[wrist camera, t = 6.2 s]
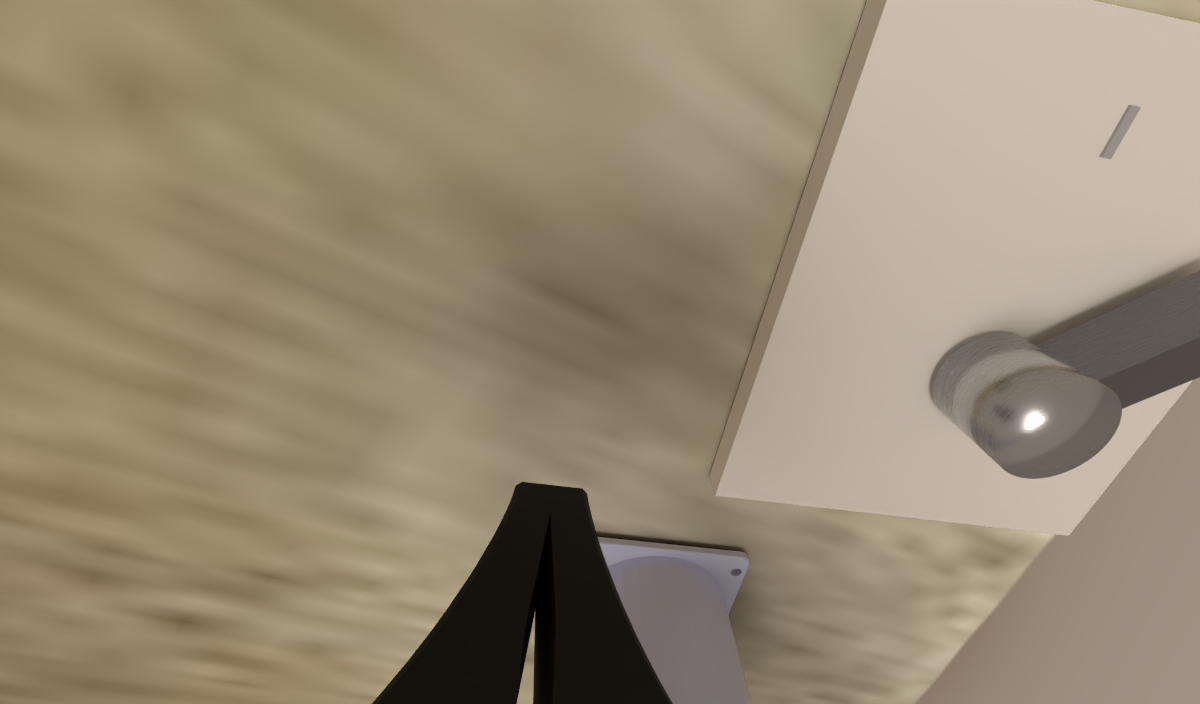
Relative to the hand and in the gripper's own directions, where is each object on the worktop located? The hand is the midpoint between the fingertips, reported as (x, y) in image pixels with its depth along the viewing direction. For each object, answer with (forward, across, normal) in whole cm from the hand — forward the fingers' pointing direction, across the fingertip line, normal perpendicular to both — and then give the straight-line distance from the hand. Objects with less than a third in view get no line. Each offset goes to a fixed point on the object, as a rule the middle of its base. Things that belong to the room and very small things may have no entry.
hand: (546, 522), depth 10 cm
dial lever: (+8, -17, -3) cm, 19 cm away
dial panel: (+9, -15, -3) cm, 18 cm away
